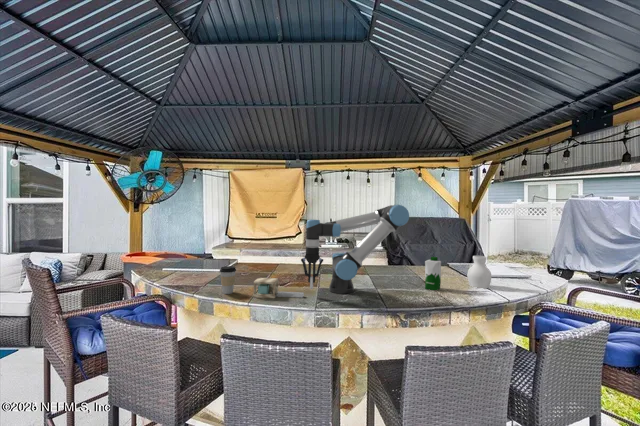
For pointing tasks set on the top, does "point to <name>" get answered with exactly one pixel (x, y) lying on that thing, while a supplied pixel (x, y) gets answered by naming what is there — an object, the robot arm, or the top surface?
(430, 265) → the milk carton
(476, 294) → the top surface
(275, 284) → the tunnel
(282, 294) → the rod
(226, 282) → the coffee cup
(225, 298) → the top surface
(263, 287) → the block
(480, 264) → the vase
